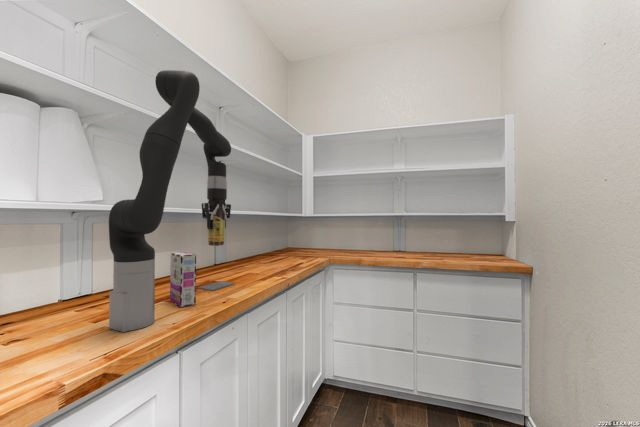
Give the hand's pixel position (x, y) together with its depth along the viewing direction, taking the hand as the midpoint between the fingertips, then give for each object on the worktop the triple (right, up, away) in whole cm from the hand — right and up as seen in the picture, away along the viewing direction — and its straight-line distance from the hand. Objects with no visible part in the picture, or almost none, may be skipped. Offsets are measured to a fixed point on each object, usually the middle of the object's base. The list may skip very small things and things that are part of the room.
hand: (216, 228), depth 117 cm
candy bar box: (-4, -24, -22) cm, 32 cm away
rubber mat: (0, -24, 0) cm, 24 cm away
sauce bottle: (0, -7, 0) cm, 7 cm away
